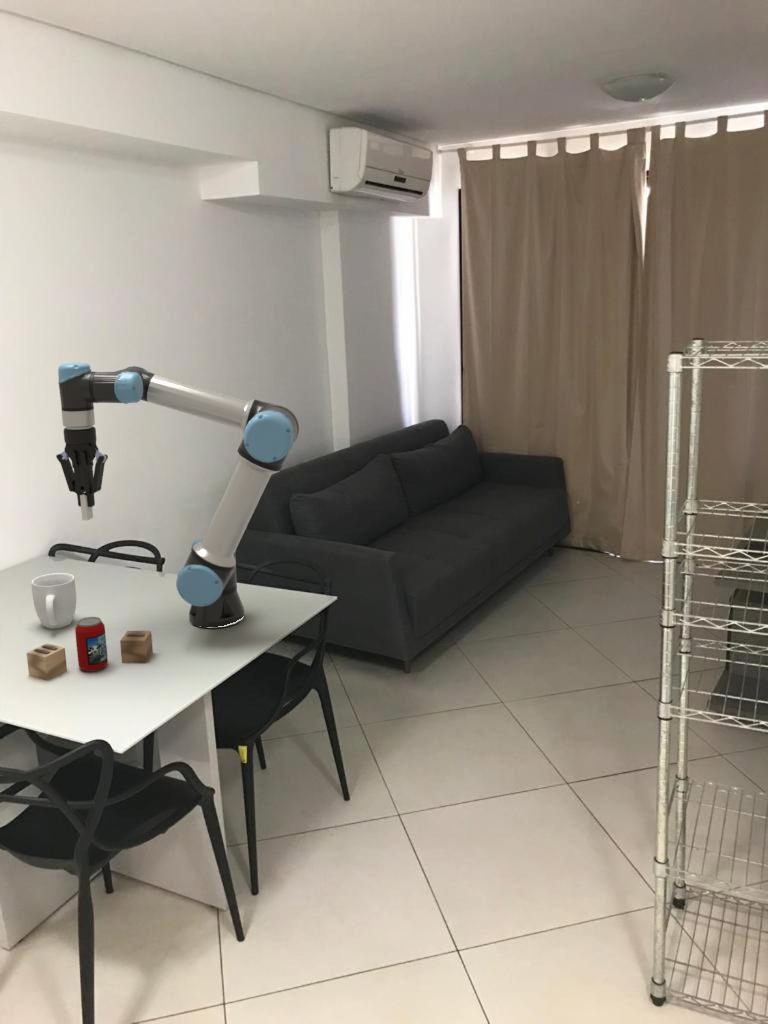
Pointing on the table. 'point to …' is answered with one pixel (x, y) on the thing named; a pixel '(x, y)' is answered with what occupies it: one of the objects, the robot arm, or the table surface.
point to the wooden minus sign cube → (136, 646)
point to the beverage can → (91, 644)
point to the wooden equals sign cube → (46, 661)
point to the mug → (54, 599)
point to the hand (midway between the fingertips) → (87, 518)
